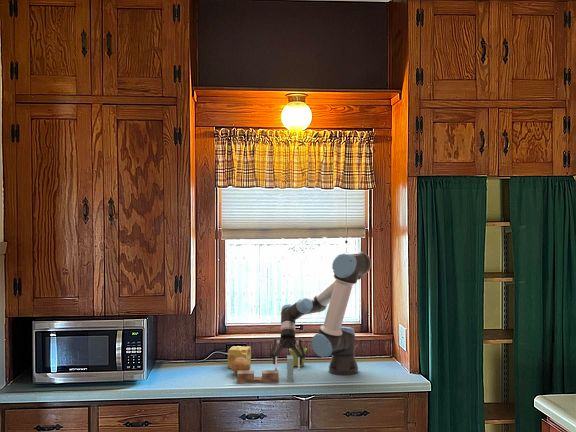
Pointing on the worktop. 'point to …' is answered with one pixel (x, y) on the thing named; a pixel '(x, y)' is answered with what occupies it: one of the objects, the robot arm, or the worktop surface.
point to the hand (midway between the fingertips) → (287, 369)
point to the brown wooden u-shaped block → (267, 377)
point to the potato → (240, 365)
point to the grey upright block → (290, 367)
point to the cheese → (238, 354)
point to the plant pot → (295, 357)
